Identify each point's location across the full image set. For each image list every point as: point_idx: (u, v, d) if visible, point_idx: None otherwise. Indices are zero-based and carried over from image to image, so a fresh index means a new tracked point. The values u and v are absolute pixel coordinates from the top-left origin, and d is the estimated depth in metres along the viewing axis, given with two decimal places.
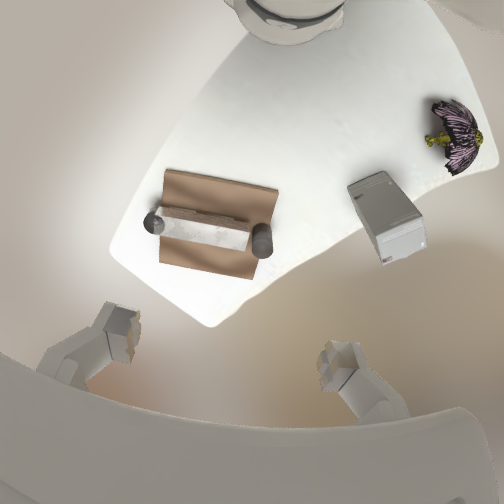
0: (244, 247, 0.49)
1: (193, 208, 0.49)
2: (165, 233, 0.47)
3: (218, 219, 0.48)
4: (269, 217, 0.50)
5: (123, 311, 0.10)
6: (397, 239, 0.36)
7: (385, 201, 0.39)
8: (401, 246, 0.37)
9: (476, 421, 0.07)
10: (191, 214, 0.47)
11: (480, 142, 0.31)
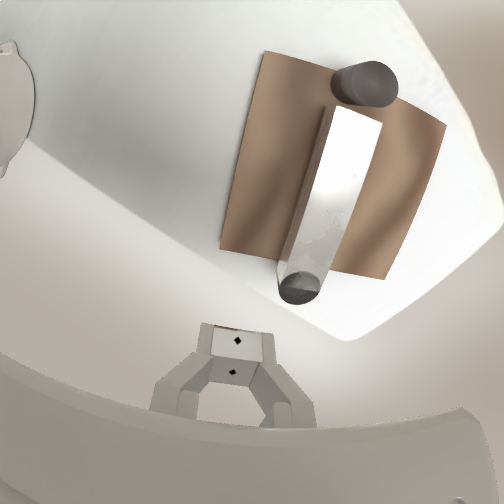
0: (372, 122, 0.18)
1: (291, 208, 0.27)
2: (321, 272, 0.25)
3: (311, 166, 0.22)
4: (318, 68, 0.20)
5: (224, 332, 0.10)
6: None
7: None
8: None
9: (476, 421, 0.07)
10: (295, 216, 0.25)
11: None
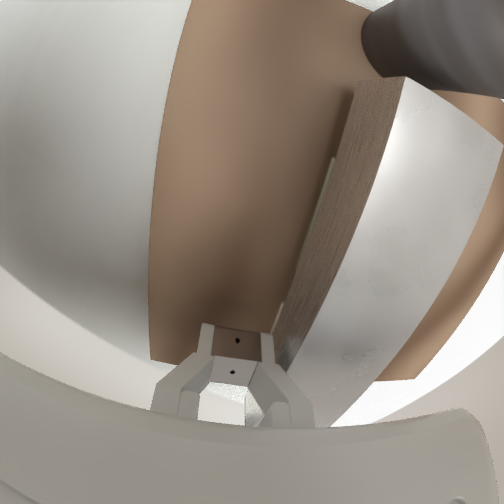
0: (487, 140, 0.05)
1: (271, 308, 0.13)
2: (320, 426, 0.12)
3: (314, 244, 0.09)
4: (330, 2, 0.07)
5: (225, 332, 0.10)
6: None
7: None
8: None
9: (476, 421, 0.07)
10: (275, 341, 0.11)
11: None
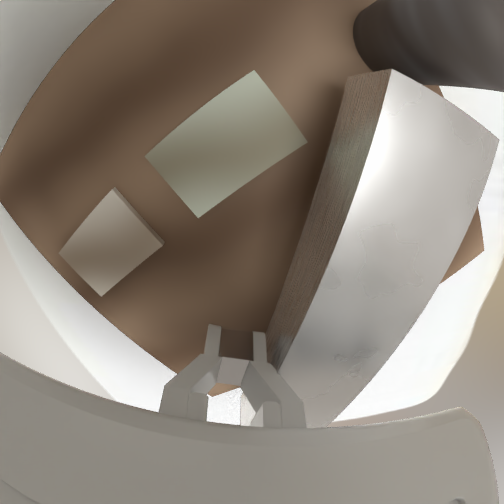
0: (481, 134, 0.05)
1: (102, 188, 0.10)
2: (315, 427, 0.12)
3: (305, 243, 0.09)
4: None
5: (232, 333, 0.10)
6: None
7: None
8: None
9: (476, 421, 0.07)
10: (268, 341, 0.11)
11: None
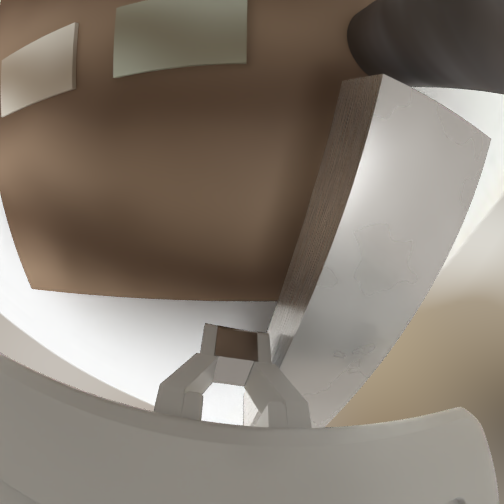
0: (473, 134, 0.05)
1: (70, 20, 0.06)
2: (316, 424, 0.12)
3: (303, 243, 0.09)
4: None
5: (228, 333, 0.10)
6: None
7: None
8: None
9: (476, 421, 0.07)
10: None
11: None
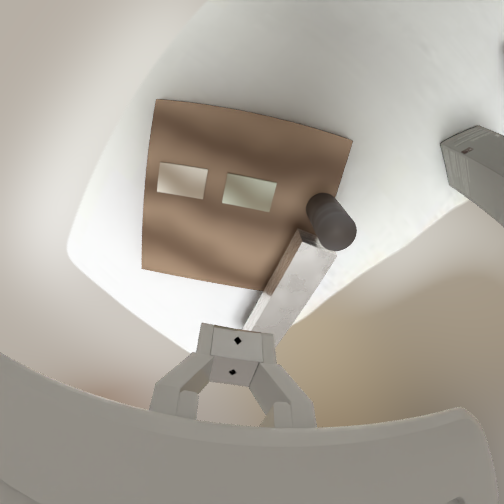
0: (329, 254, 0.27)
1: (203, 164, 0.27)
2: None
3: (275, 273, 0.31)
4: (336, 182, 0.28)
5: (224, 332, 0.10)
6: None
7: None
8: None
9: (476, 421, 0.07)
10: (258, 304, 0.33)
11: None
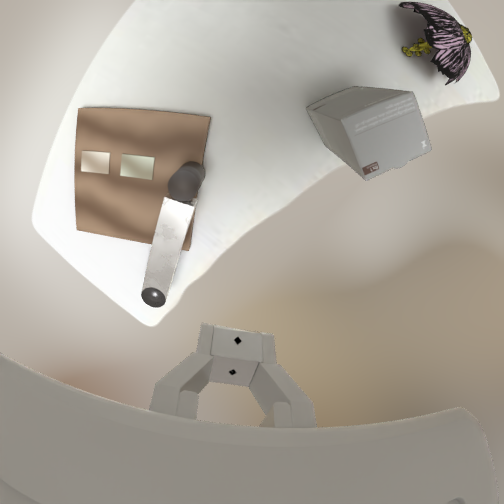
0: (187, 206, 0.34)
1: (107, 149, 0.34)
2: (164, 290, 0.40)
3: None
4: (200, 152, 0.35)
5: (224, 332, 0.10)
6: (380, 129, 0.20)
7: (355, 97, 0.25)
8: (389, 143, 0.21)
9: (476, 421, 0.07)
10: None
11: (469, 36, 0.18)
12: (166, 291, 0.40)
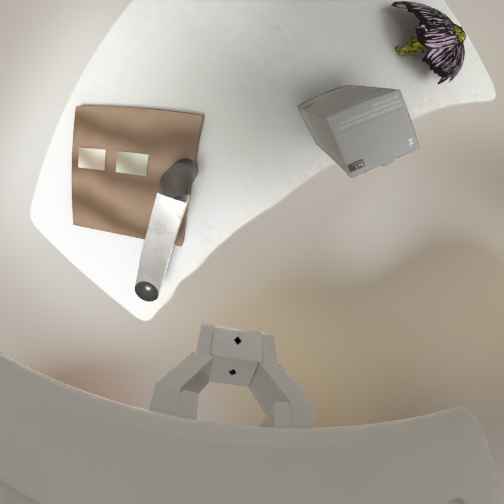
0: (179, 202, 0.35)
1: (103, 146, 0.34)
2: (157, 284, 0.41)
3: None
4: (193, 149, 0.35)
5: (224, 332, 0.10)
6: (365, 127, 0.21)
7: (344, 96, 0.25)
8: (375, 141, 0.22)
9: (476, 421, 0.07)
10: None
11: (462, 35, 0.18)
12: (159, 285, 0.41)
